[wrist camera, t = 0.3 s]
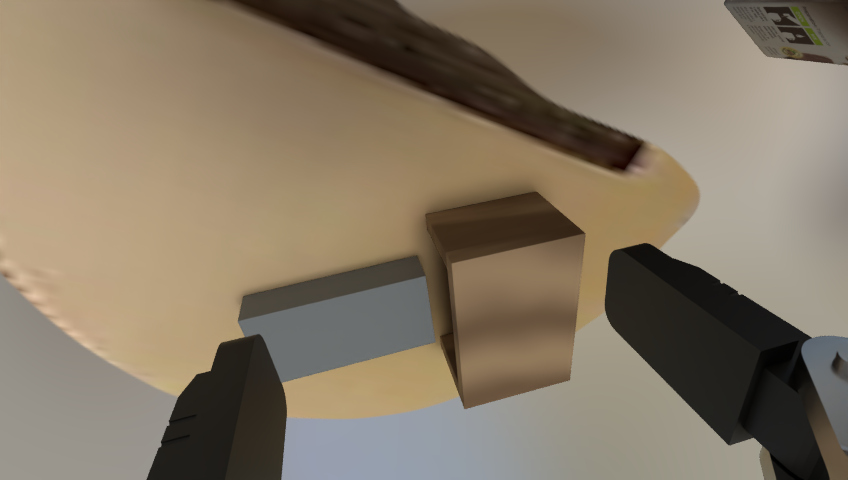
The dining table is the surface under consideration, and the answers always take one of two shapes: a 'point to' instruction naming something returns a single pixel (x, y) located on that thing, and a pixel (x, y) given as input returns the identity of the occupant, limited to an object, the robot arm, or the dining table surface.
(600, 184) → the dining table surface
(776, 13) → the coffee box
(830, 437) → the robot arm
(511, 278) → the walnut bridge
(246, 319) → the grey rectangular block
